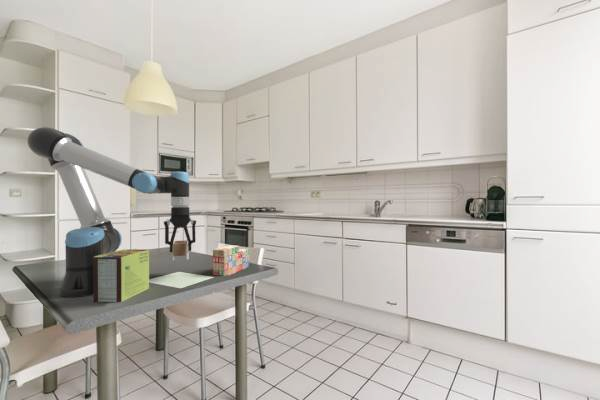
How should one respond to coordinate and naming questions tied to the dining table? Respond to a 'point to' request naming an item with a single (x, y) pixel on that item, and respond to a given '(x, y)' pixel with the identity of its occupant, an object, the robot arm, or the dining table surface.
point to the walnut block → (180, 248)
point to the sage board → (179, 279)
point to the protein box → (120, 275)
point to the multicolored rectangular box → (229, 260)
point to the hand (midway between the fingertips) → (180, 259)
